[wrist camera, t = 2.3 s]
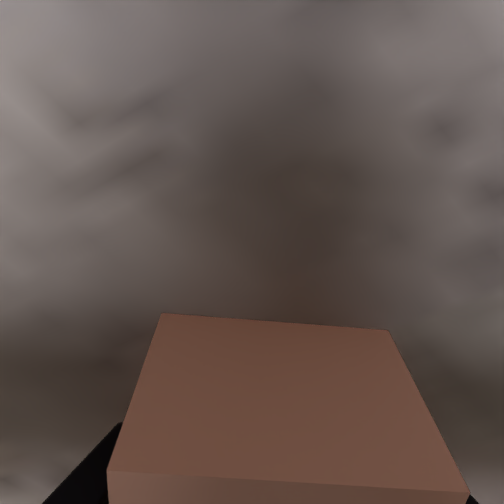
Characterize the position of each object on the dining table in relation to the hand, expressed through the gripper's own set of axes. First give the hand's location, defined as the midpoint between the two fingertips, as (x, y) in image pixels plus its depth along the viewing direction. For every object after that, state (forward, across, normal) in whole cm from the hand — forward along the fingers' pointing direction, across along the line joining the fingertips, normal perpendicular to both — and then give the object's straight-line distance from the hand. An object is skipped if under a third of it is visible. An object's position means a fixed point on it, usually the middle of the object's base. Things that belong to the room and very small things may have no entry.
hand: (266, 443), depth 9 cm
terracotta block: (+1, 0, 0) cm, 1 cm away
